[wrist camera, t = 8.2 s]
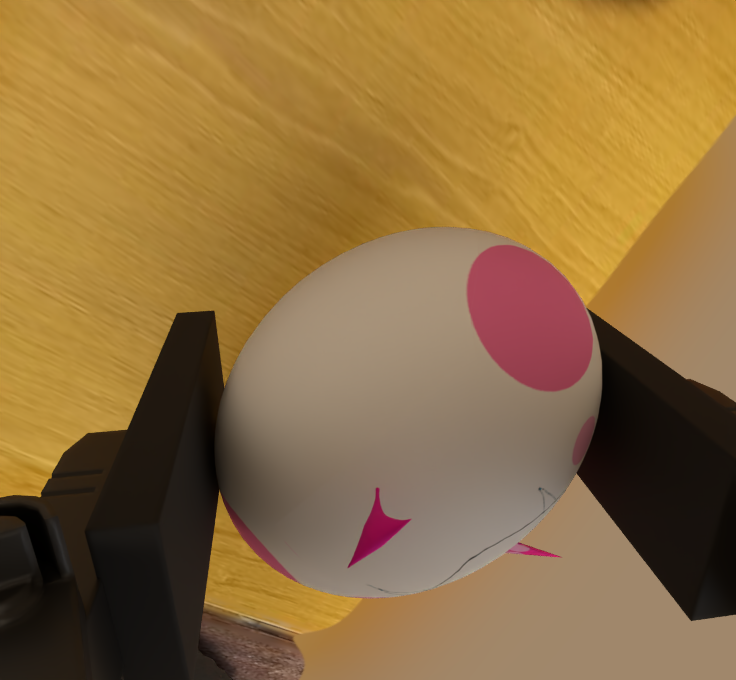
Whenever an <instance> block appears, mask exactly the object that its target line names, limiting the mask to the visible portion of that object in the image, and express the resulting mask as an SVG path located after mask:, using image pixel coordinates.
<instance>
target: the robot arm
mask: <svg viewBox="0 0 736 680" xmlns="http://www.w3.org/2000/svg"><path fill="white" fill-rule="evenodd" d="M586 309H587V308H586ZM587 310H588V312H589V314H590V316H591V319H592V322H593V325H594V328H595V331H596V335H597V338H598V342H599V347H600V353H601V360H602V394H601V402H600V408H599V414H598V419H597V423H596V426H595V430H594V433H593V436H592V439H591V442H590V445H589V447H588V450H587V452H586V454H585V457H584V459H583V461H582V463H581V465H580V467H579V469H578V471H577V475H578V476H579V477H580V478H581V480H582V481H583V482H584V484H585V485H586V486H587V487H588V488H589V490H590V491H591V493H592V494H593V495H594V496H595V498H596V499H597V500H598V502H599V503H600V504H601V505H602V507H603V508H604V509H605V511H606V512H607V513H608V515H609V516H610V517H611V518H612V520H613V521H614V522H615V524H616V525H617V526H618V527H619V529H620V530H621V531H622V533H623V534H624V535H625V536H626V538H627V539H628V540H629V542H630V543H631V544H632V545H633V547H634V548H635V549H636V551H637V552H638V553H639V555H640V556H641V557H642V558H643V560H644V561H645V562H646V564H647V565H648V566H649V567H650V569H651V570H652V571H653V573H654V574H655V575H656V576H657V578H658V579H659V580H660V582H661V583H662V584H663V585H664V587H665V588H666V589H667V590H668V592H669V593H670V595H671V596H672V597H673V598H674V600H675V601H676V602H677V604H678V605H679V606H680V607H681V609H682V610H683V611H684V613H685V614H686V615H687V616H688V618H689V619H690V620H691V621H693V620H701V619H708V618H715V617H722V616H729V615H736V402H734V401H733V400H731V399H730V398H728V397H727V396H725V395H724V394H723V393H721V392H720V391H717V390H715V389H713V388H710V387H708V386H705V385H703V384H701V383H698V382H696V381H694V380H691V379H685V378H684V377H682V376H681V375H679V374H678V373H677V372H675V371H674V370H672V369H671V368H670V367H668V366H667V365H665V364H664V363H663V362H661V361H660V360H658V359H657V358H656V357H654V356H653V355H652V354H650V353H649V352H647V351H646V350H645V349H643V348H642V347H640V346H639V345H638V344H636V343H635V342H633V341H632V340H631V339H629V338H628V337H626V336H625V335H624V334H622V333H621V332H619V331H618V330H617V329H615V328H614V327H612V326H611V325H610V324H608V323H607V322H606V321H604V320H603V319H601V318H600V317H599V316H597V315H596V314H594V313H593V312H591V311H590V310H589V309H587ZM223 392H224V382H223V375H222V367H221V359H220V351H219V343H218V336H217V328H216V320H215V312H214V311H201V312H185V313H177V315H176V317H175V319H174V322H173V324H172V326H171V329H170V331H169V333H168V336H167V338H166V340H165V343H164V345H163V347H162V350H161V352H160V354H159V357H158V359H157V361H156V364H155V366H154V369H153V371H152V373H151V376H150V378H149V380H148V383H147V385H146V387H145V390H144V392H143V394H142V397H141V399H140V401H139V404H138V406H137V408H136V411H135V413H134V415H133V418H132V420H131V423H130V425H129V427H128V430H119V431H108V432H96V433H88V434H86V435H85V436H84V437H83V438H81V439H80V440H79V441H78V442H77V443H75V444H74V445H73V446H72V447H70V448H69V449H68V450H67V451H65V452H64V454H63V455H62V457H61V459H60V461H59V462H58V464H57V466H56V468H55V469H54V471H53V473H52V478H51V479H49V480H48V482H47V483H46V485H45V487H44V489H43V490H42V492H41V497H37V496H21V495H12V496H6V497H1V498H0V680H121V676H122V674H123V678H124V680H194V673H195V665H196V658H197V651H198V643H199V636H200V629H201V621H202V614H203V607H204V599H205V592H206V584H207V577H208V570H209V562H210V555H211V548H212V540H213V533H214V526H215V518H216V511H217V504H218V496H219V485H218V480H217V476H216V468H215V454H214V440H215V428H216V421H217V415H218V410H219V406H220V401H221V398H222V395H223Z"/></svg>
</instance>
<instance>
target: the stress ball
mask: <svg viewBox="0 0 736 680" xmlns="http://www.w3.org/2000/svg"><path fill="white" fill-rule="evenodd" d="M601 394H602V360H601V353H600V347H599V342H598V338H597V335H596V331H595V328H594V325H593V322H592V319H591V316H590V314H589V312H588V310H587V309H586V307H585V305H584V303H583V301H582V299H581V298H580V296H579V294H578V293H577V292H576V290H575V289H574V288H573V286H572V285H571V284H570V282H569V281H568V280H567V278H566V277H565V276H564V275H563V274H562V273H561V272H560V271H559V270H558V269H557V268H556V267H555V266H554V265H552V264H551V263H550V262H549V261H548V260H546V259H545V258H543V257H542V256H540V255H539V254H537V253H536V252H534V251H533V250H531V249H530V248H528V247H526V246H524V245H522V244H520V243H518V242H516V241H514V240H511V239H509V238H507V237H504V236H500V235H497V234H494V233H491V232H486V231H481V230H475V229H468V228H457V227H431V228H421V229H413V230H408V231H403V232H398V233H394V234H391V235H387V236H384V237H380V238H377V239H375V240H372V241H369V242H367V243H364V244H361V245H359V246H357V247H355V248H353V249H351V250H349V251H347V252H345V253H343V254H341V255H339V256H337V257H335V258H334V259H332V260H330V261H329V262H327V263H325V264H323V265H322V266H320V267H319V268H317V269H316V270H315V271H313V272H312V273H311V274H309V275H308V276H306V277H305V278H304V279H302V280H301V281H300V282H299V283H297V284H296V285H295V286H294V287H293V288H292V289H291V290H290V291H289V292H287V293H286V294H285V295H284V296H283V297H282V298H281V299H280V300H279V301H278V302H277V303H276V305H275V306H274V307H273V308H272V309H271V310H270V311H269V312H268V314H267V315H266V316H265V317H264V318H263V320H262V321H261V322H260V323H259V325H258V326H257V328H256V329H255V330H254V332H253V333H252V335H251V336H250V337H249V339H248V340H247V342H246V343H245V345H244V347H243V349H242V351H241V352H240V354H239V356H238V358H237V359H236V361H235V364H234V366H233V368H232V371H231V373H230V375H229V378H228V380H227V383H226V385H225V388H224V392H223V395H222V398H221V401H220V406H219V410H218V415H217V421H216V428H215V440H214V454H215V468H216V476H217V480H218V485H219V489H220V492H221V495H222V499H223V502H224V504H225V507H226V509H227V511H228V513H229V515H230V518H231V520H232V522H233V524H234V525H235V527H236V528H237V530H238V532H239V533H240V535H241V536H242V538H243V539H244V540H245V541H246V542H247V544H248V545H249V546H250V547H251V548H252V549H253V550H254V552H255V553H256V554H257V555H258V556H259V557H261V558H262V559H263V560H264V561H265V562H266V563H267V564H269V565H270V566H271V567H272V568H274V569H275V570H277V571H278V572H280V573H282V574H283V575H285V576H286V577H288V578H290V579H292V580H294V581H296V582H298V583H300V584H302V585H304V586H307V587H310V588H313V589H316V590H319V591H322V592H326V593H330V594H334V595H340V596H346V597H355V598H386V597H398V596H404V595H410V594H415V593H419V592H423V591H427V590H431V589H434V588H437V587H440V586H442V585H445V584H448V583H451V582H453V581H456V580H458V579H460V578H463V577H465V576H467V575H469V574H471V573H473V572H475V571H476V570H478V569H480V568H482V567H484V566H486V565H487V564H489V563H490V562H492V561H493V560H495V559H496V558H498V557H500V556H501V555H503V554H504V553H514V554H525V555H538V556H550V557H560V556H557V555H554V554H551V553H548V552H545V551H542V550H539V549H536V548H533V547H530V546H528V545H524V544H522V543H519V542H520V541H521V540H522V539H523V538H524V537H525V536H526V535H527V534H528V533H529V532H531V530H533V528H535V527H536V526H537V525H538V523H540V522H541V520H542V519H543V518H544V517H545V516H546V515H547V514H548V513H549V512H550V510H551V509H552V508H553V507H554V505H555V504H556V503H557V502H558V500H559V499H560V498H561V496H562V495H563V494H564V492H565V491H566V489H567V487H568V486H569V484H570V483H571V481H572V480H573V478H574V476H575V475H576V473H577V471H578V469H579V467H580V465H581V463H582V461H583V459H584V457H585V454H586V452H587V450H588V447H589V445H590V442H591V439H592V436H593V433H594V430H595V426H596V423H597V419H598V414H599V408H600V402H601Z"/></svg>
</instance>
